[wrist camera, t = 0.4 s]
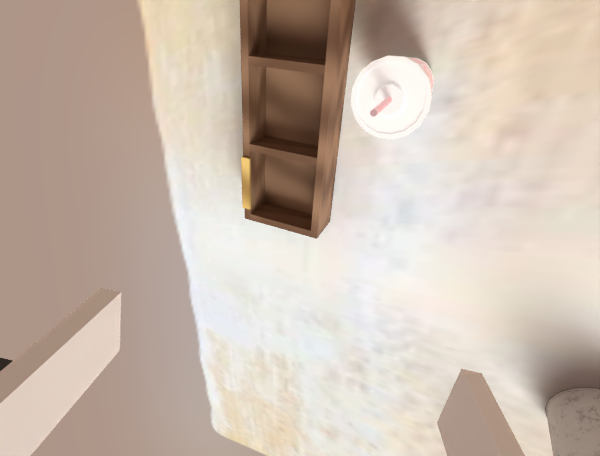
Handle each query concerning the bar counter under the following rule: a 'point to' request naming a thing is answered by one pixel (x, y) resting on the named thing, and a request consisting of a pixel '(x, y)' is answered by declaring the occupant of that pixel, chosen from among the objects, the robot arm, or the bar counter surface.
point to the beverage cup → (392, 96)
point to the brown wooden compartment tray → (292, 108)
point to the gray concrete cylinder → (575, 422)
